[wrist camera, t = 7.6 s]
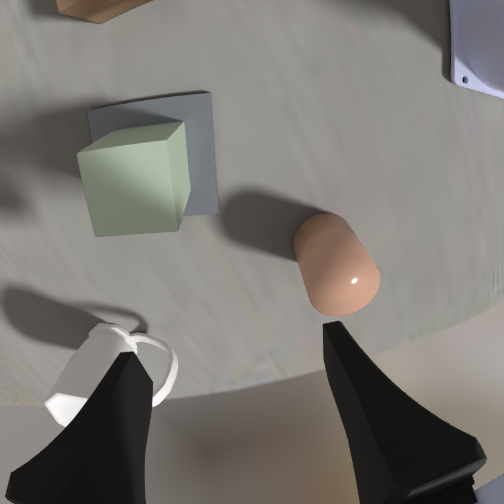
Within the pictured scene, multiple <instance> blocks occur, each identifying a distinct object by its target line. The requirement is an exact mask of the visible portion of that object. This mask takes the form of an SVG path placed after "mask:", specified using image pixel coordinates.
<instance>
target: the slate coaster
mask: <svg viewBox="0 0 504 504" xmlns="http://www.w3.org/2000/svg"><path fill="white" fill-rule="evenodd" d="M87 113H88V120H89V127H90V134H91V141H92V143H94V142H95V141H97V140H99V139H101V138H102V137H104V136H106V135H107V134H109V133H111V132H113V131H114V130H120V129H127V128H134V127H141V126H148V125H156V124H165V123H174V122H184V124H185V136H186V148H187V159H188V169H189V179H190V189H191V191H190V194H189V197H188V201H187V204H186V207H185V210H184V214H183V216H190V215H205V214H219V204H218V191H217V178H216V164H215V150H214V135H213V119H212V102H211V93H201V94H190V95H180V96H172V97H164V98H156V99H149V100H142V101H136V102H130V103H124V104H118V105H113V106H108V107H103V108H98V109H93V110H89V111H87Z"/></svg>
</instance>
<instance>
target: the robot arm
mask: <svg viewBox="0 0 504 504" xmlns="http://www.w3.org/2000/svg"><path fill="white" fill-rule="evenodd" d="M449 3H450V19H451V80H452V82H453V84H455V85H457V86H461V87H465V88H469V89H472V90H476V91H479V92H483V93H486V94H489V95H493V96H496V97H499V98H502V99H504V0H449ZM463 77H464V79H465V81H464V83H463V80H462V79H463ZM323 355H324V363H325V368H326V372H327V377H328V381H329V385H330V387H331V390H332V393H333V396H334V399H335V402H336V405H337V408H338V410H339V414H340V417H341V419H342V422H343V425H344V428H345V431H346V434H347V438H348V442H349V447H350V452H351V457H352V461H353V467H354V472H355V477H356V483H357V489H358V495H359V501H360V504H504V474H503V475H501V476H499V477H498V478H496V479H494V480H492V481H491V482H489V483H487V484H485V485H483V486H482V487H480V488H478V489H477V490H475V491H474V490H473V487H472V485H473V484H474V480H473V476H472V475H473V474H474V473H475V472H476V471H477V470H479V469H480V468H481V467H482V466H483V465H484V464H485V463H486V460H487V457H486V455H485V453H484V450H483V449H482V447H481V445H480V444H479V442H478V441H477V439H476V438H475V437H473V436H471V435H469V434H467V433H465V432H463V431H461V430H459V429H457V428H455V427H454V426H452V425H450V424H449V423H447V422H445V421H443V420H442V419H440V418H439V417H437V416H436V415H434V414H432V413H431V412H430V411H428V410H427V409H425V408H424V407H422V406H421V405H420V404H418V403H417V402H416V401H415V400H413V399H412V398H411V397H409V396H408V395H407V394H406V393H405V392H403V391H402V390H401V389H400V388H399V387H398V386H396V385H395V384H394V383H393V382H392V381H391V380H390V379H389V378H388V377H387V376H386V375H385V374H384V373H383V372H382V371H381V370H380V369H379V368H378V367H377V366H376V365H375V364H374V363H373V361H372V360H371V359H370V358H369V357H368V356H367V355H366V353H365V352H364V351H363V350H362V349H361V348H360V346H359V345H358V344H357V343H356V341H355V340H354V339H353V337H352V336H351V335H350V333H349V332H348V331H347V329H346V328H345V327H344V325H343V324H342V322H340V321H335V322H330V323H325V324H323ZM152 402H153V381H152V380H151V378H150V377H149V375H148V374H147V372H146V370H145V369H144V367H143V366H142V364H141V362H140V361H139V359H138V358H137V356H136V354H135V353H134V351H130V352H120V353H119V355H118V356H117V358H116V359H115V361H114V362H113V363H112V365H111V366H110V368H109V369H108V371H107V372H106V374H105V375H104V377H103V378H102V380H101V381H100V383H99V384H98V386H97V387H96V389H95V390H94V392H93V393H92V395H91V396H90V397H89V399H88V400H87V401H86V403H85V404H84V405H83V407H82V408H81V409H80V411H79V412H78V413H77V415H76V416H75V417H74V418H73V420H72V421H71V422H70V423H69V424H68V425H67V426H66V428H65V429H64V430H63V431H62V432H61V433H60V434H59V435H58V436H57V437H56V438H55V439H54V440H53V441H52V442H51V443H50V444H49V445H48V446H47V447H45V449H43V450H42V451H41V452H40V453H39V454H38V455H36V456H35V457H33V458H32V459H31V460H29V461H28V462H27V463H25V464H24V465H22V466H21V467H19V468H18V469H16V470H15V471H13V472H11V475H10V479H9V483H8V487H7V491H6V495H5V497H6V499H7V500H9V501H10V502H12V503H14V504H146V499H145V476H144V475H145V474H144V473H145V451H146V444H147V436H148V430H149V424H150V418H151V411H152Z"/></svg>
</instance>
